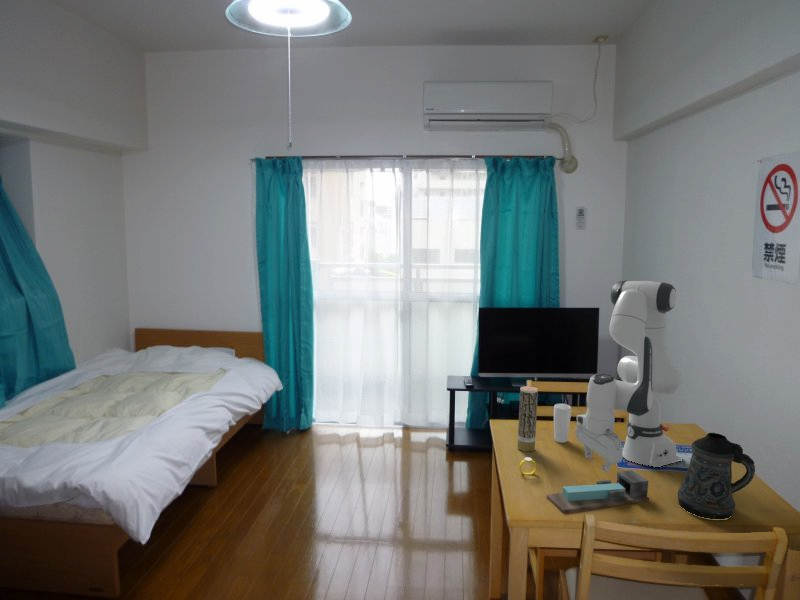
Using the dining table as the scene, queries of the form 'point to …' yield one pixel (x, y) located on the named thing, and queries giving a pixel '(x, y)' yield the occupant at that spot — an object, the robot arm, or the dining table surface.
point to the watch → (528, 461)
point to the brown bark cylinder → (527, 418)
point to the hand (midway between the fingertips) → (597, 464)
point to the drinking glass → (561, 422)
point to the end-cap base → (633, 493)
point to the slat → (590, 491)
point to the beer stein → (713, 477)
